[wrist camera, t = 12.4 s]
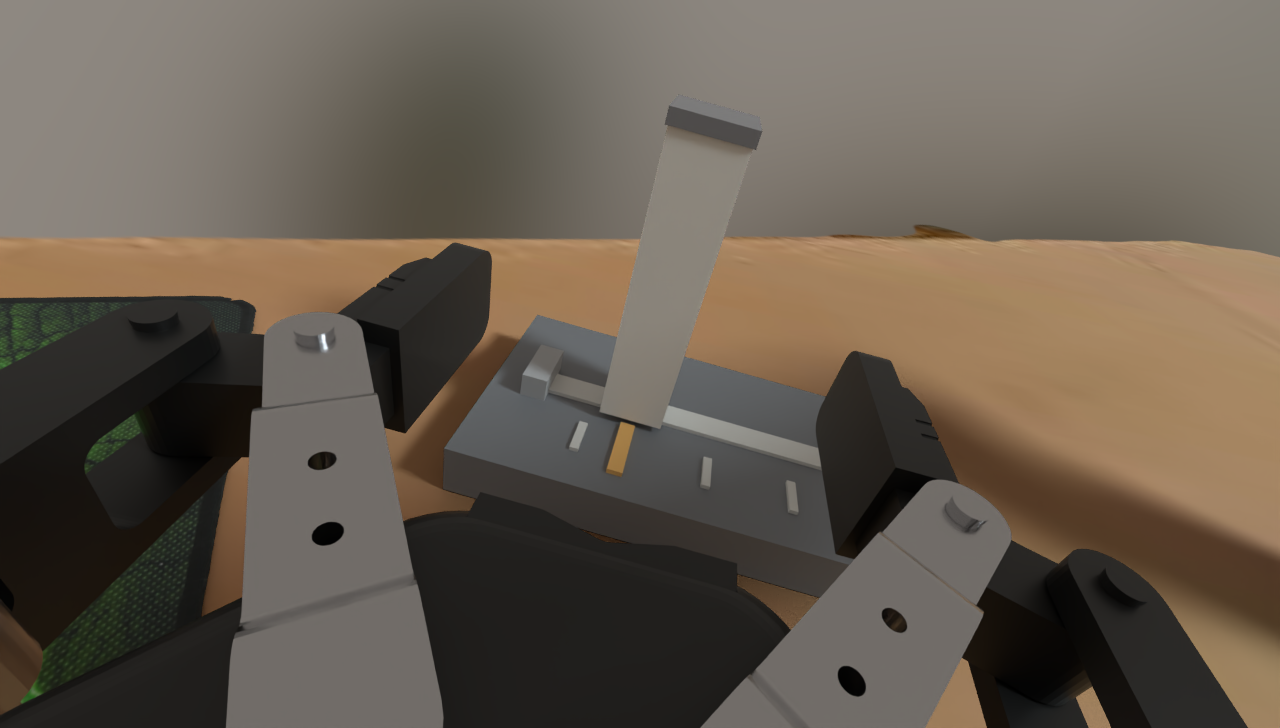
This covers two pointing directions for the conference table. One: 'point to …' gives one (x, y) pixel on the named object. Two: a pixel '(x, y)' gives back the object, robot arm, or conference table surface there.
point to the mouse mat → (178, 560)
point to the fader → (677, 252)
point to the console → (654, 458)
